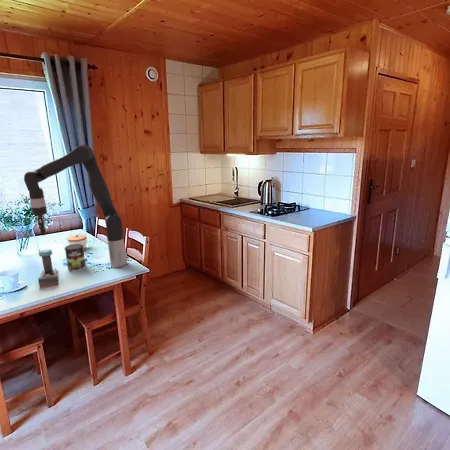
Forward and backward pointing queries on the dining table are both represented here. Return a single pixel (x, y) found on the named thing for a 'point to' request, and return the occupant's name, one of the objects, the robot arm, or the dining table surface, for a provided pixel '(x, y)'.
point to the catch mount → (48, 279)
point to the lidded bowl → (78, 240)
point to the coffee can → (75, 257)
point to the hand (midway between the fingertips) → (43, 233)
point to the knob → (47, 261)
